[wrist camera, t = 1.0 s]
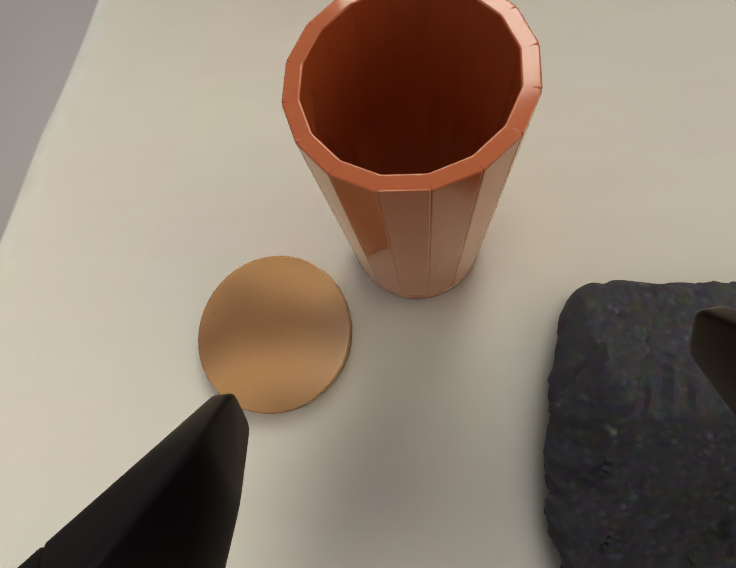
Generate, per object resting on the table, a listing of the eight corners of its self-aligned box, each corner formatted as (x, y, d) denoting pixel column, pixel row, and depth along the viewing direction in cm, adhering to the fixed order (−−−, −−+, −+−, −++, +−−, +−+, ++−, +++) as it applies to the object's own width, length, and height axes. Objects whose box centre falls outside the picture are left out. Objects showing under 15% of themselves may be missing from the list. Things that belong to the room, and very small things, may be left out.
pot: (499, 271, 21) (591, 128, 9) (381, 317, 22) (327, 232, 10) (449, 168, 23) (475, -64, 11) (341, 211, 24) (254, 29, 12)
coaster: (374, 379, 21) (372, 379, 20) (224, 436, 21) (218, 437, 21) (323, 237, 23) (321, 233, 23) (188, 290, 24) (183, 288, 23)
